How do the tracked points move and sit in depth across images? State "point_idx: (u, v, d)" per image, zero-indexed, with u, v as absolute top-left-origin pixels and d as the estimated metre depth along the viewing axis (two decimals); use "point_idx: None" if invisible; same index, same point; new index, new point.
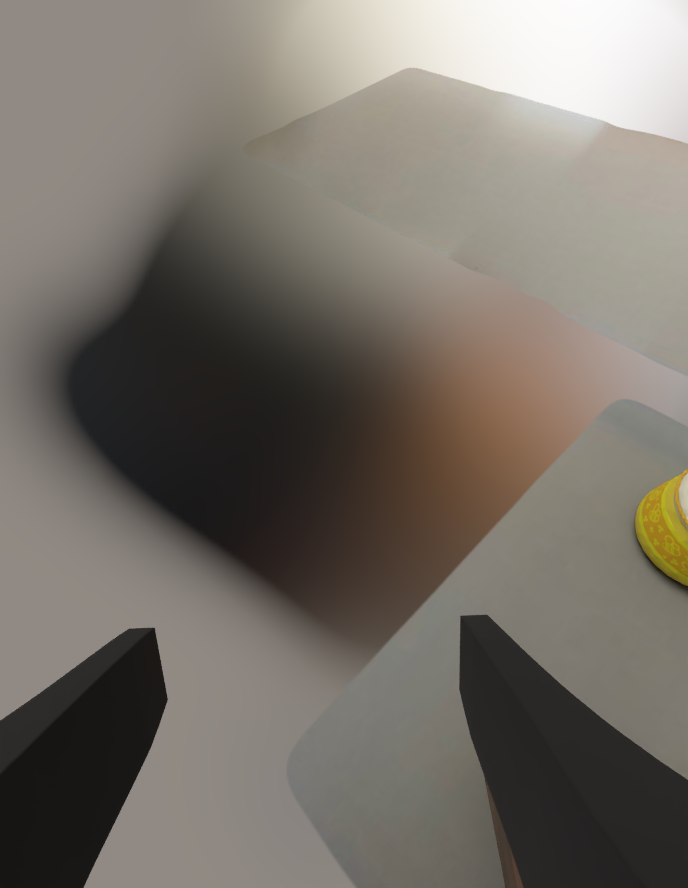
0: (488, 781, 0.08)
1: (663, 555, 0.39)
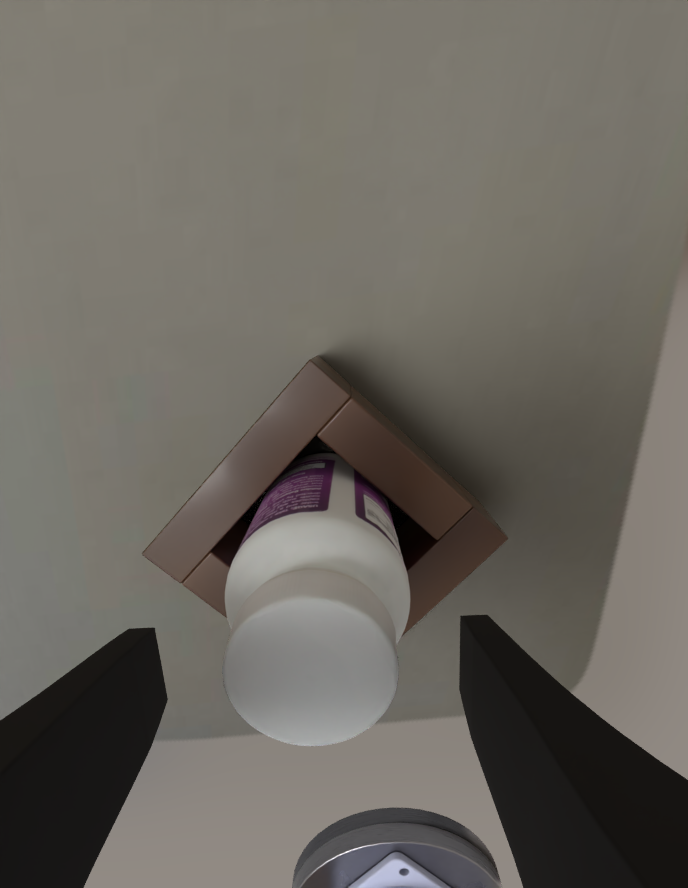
0: (488, 781, 0.08)
1: None
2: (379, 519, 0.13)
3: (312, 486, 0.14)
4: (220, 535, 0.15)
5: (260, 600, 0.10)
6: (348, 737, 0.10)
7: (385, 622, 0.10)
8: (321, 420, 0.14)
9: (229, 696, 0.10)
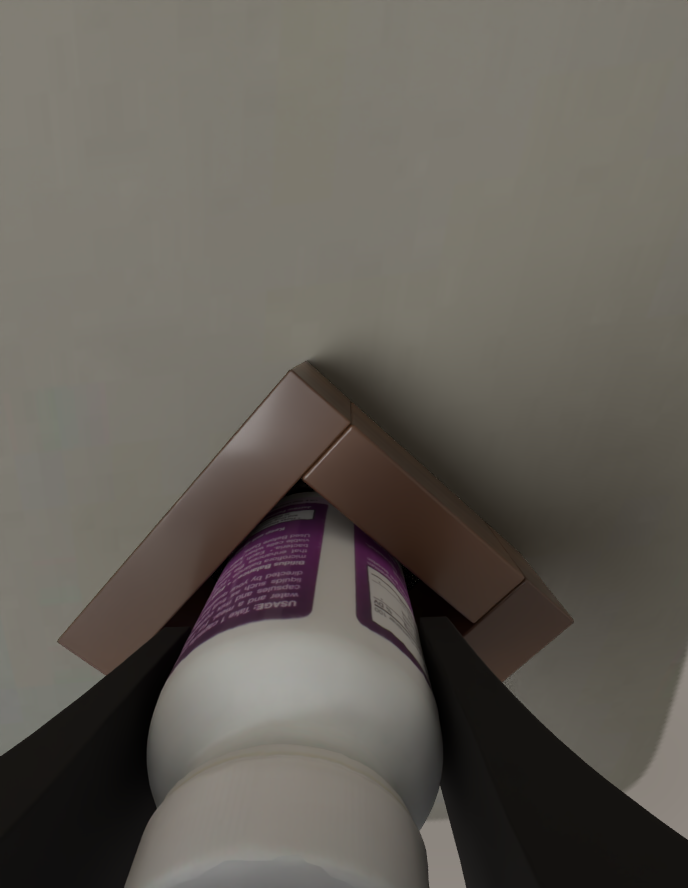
0: (440, 782, 0.08)
1: None
2: (392, 614, 0.09)
3: (292, 557, 0.09)
4: (166, 616, 0.11)
5: (175, 838, 0.05)
6: None
7: (412, 868, 0.05)
8: (309, 457, 0.10)
9: None
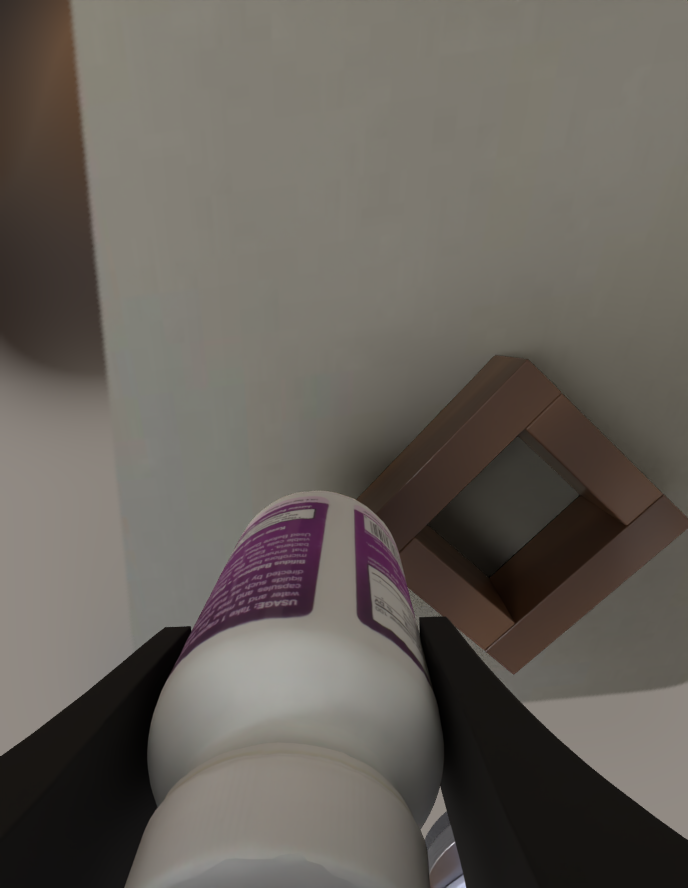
0: None
1: None
2: (393, 613, 0.09)
3: (292, 556, 0.09)
4: (425, 522, 0.17)
5: (177, 836, 0.05)
6: None
7: (413, 865, 0.05)
8: (532, 415, 0.16)
9: None
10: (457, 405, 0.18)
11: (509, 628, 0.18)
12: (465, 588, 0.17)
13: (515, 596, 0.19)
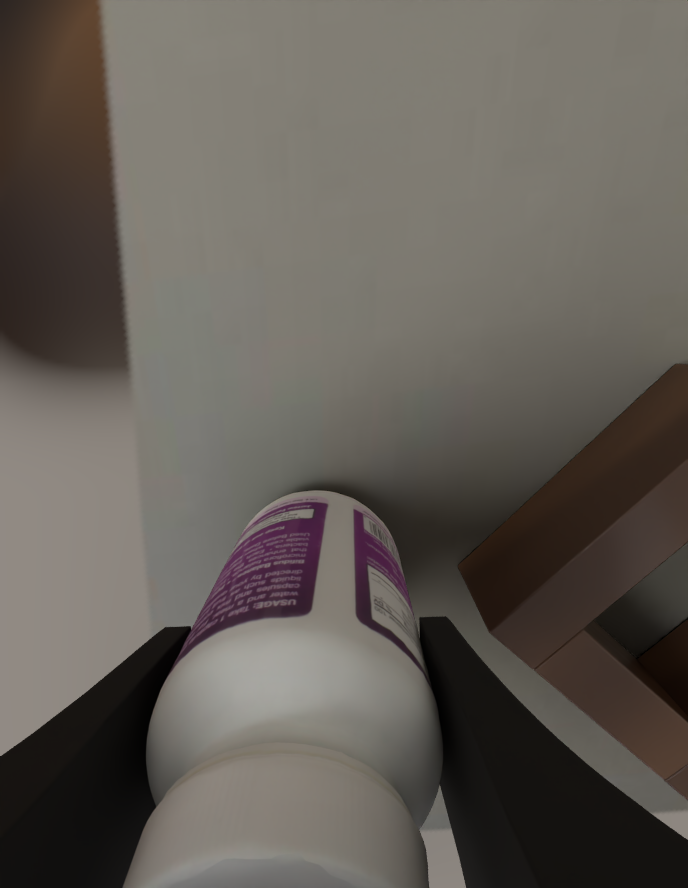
0: (441, 782, 0.08)
1: None
2: (392, 613, 0.09)
3: (292, 555, 0.09)
4: (601, 608, 0.11)
5: (174, 836, 0.05)
6: None
7: (411, 865, 0.05)
8: None
9: None
10: (631, 435, 0.13)
11: None
12: (648, 699, 0.12)
13: None
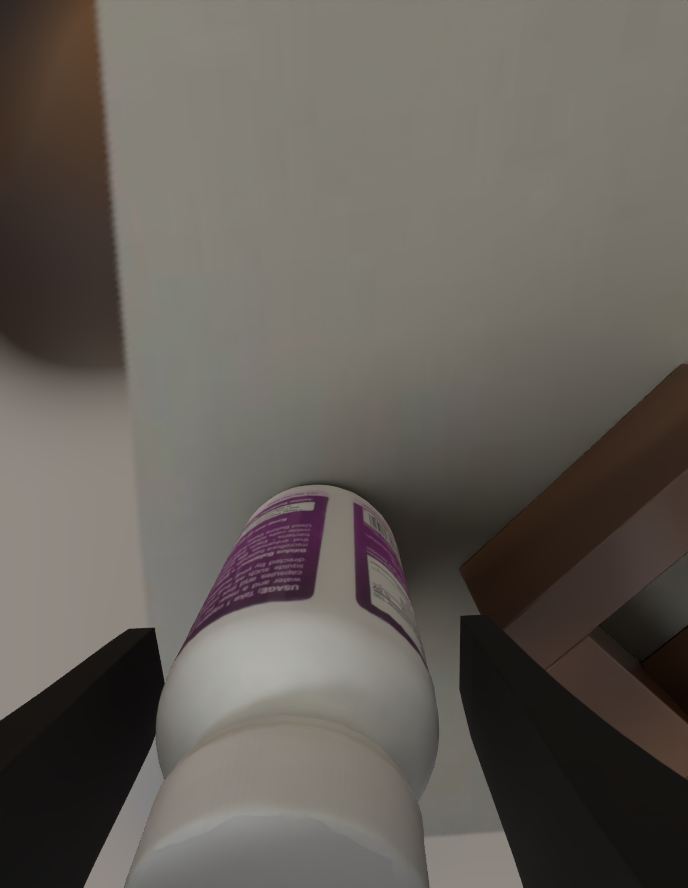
0: (488, 781, 0.08)
1: None
2: (391, 599, 0.09)
3: (294, 545, 0.10)
4: (607, 613, 0.11)
5: (187, 799, 0.05)
6: None
7: (408, 827, 0.06)
8: None
9: None
10: (636, 437, 0.12)
11: None
12: (654, 706, 0.12)
13: None
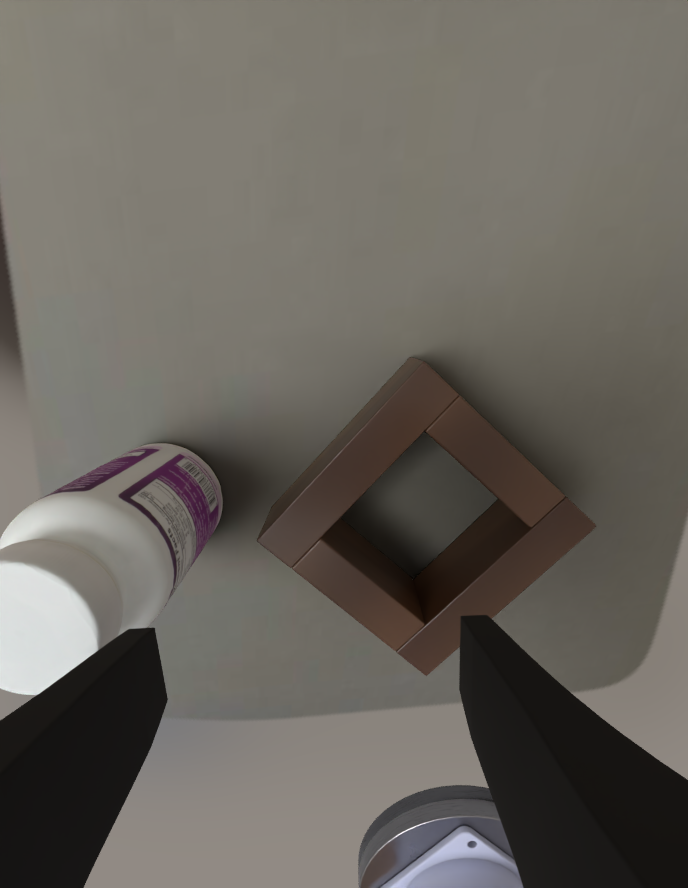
0: (488, 781, 0.08)
1: None
2: (153, 500, 0.14)
3: (105, 471, 0.15)
4: (330, 523, 0.17)
5: None
6: None
7: (91, 585, 0.11)
8: (431, 417, 0.16)
9: None
10: (368, 407, 0.18)
11: (419, 629, 0.18)
12: (373, 590, 0.17)
13: (430, 598, 0.19)
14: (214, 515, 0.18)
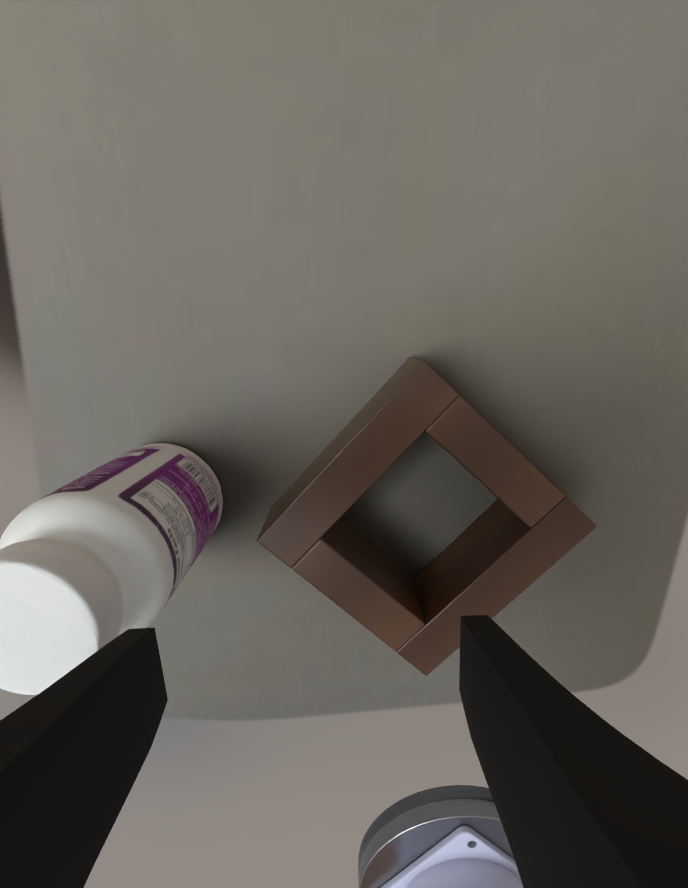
0: (488, 781, 0.08)
1: None
2: (153, 500, 0.14)
3: (105, 471, 0.15)
4: (330, 523, 0.17)
5: None
6: None
7: (91, 585, 0.11)
8: (431, 417, 0.16)
9: None
10: (368, 407, 0.18)
11: (419, 629, 0.18)
12: (373, 590, 0.17)
13: (430, 598, 0.19)
14: (214, 515, 0.18)
